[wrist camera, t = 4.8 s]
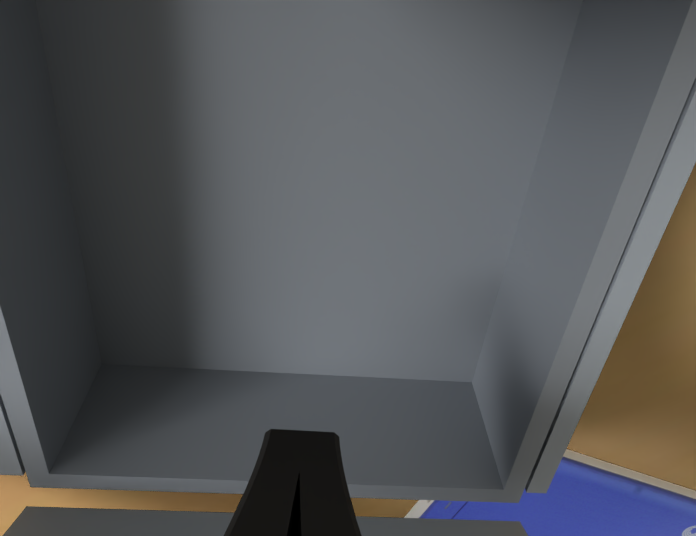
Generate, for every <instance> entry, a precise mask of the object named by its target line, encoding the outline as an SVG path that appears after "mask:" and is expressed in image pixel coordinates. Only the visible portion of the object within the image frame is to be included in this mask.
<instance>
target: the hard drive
mask: <svg viewBox="0 0 696 536" xmlns="http://www.w3.org/2000/svg"><path fill="white" fill-rule="evenodd" d="M404 518H424V519H458V520H491V521H520V522H521V524H522V526H523V528H524V529H525V531H526V533H527V535H528V536H696V491H695V490H692V489H689V488H686V487H683V486H680V485H676V484H673V483H670V482H667V481H664V480H661V479H658V478H655V477H652V476H649V475H646V474H643V473H640V472H636V471H633V470H630V469H627V468H624V467H621V466H618V465H615V464H612V463H608V462H605V461H602V460H599V459H596V458H593V457H590V456H587V455H584V454H581V453H577V452H574V451H571V450H568V449H566V451H565V453H564V455H563V457H562V459H561V462H560V464H559V466H558V468H557V470H556V473H555V475H554V477H553V479H552V482H551V484H550V486H549V488H548V490H547V493H526V490H525V489H524V491H523V494H522V496H521V499H520V501H519V503H501V502H471V501H440V500H419V501H418V502H417V503H416V504H415V505H414V506H413V508H412V509H411V510H410V511H409V512H408V513H407V515H406V516H405V517H404Z"/></svg>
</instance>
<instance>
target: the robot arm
mask: <svg viewBox="0 0 696 536" xmlns="http://www.w3.org/2000/svg"><path fill="white" fill-rule="evenodd" d="M224 536H362V535H361V532H360V529H359V526H358V523H357V520H356V516H355V513H354V509H353V506H352V502H351V498H350V494H349V490H348V486H347V482H346V478H345V473H344V468H343V463H342V457H341V450H340V439H339V436H338V435H337V434H336V433H334V432H321V431H302V430H284V429H270V430H268V431H267V432H265V435H264V439H263V443H262V446H261V449H260V453H259V456H258V459H257V461H256V464H255V467H254V469H253V472H252V475H251V477H250V479H249V482H248V484H247V487H246V489H245V491H244V494H243V496H242V498H241V500H240V502H239V505H238V507H237V509H236V511H235V513H234V515H233V517H232V519H231V521H230V523H229V526H228V528H227V530H226V532H225V534H224Z"/></svg>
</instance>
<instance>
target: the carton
mask: <svg viewBox="0 0 696 536" xmlns="http://www.w3.org/2000/svg"><path fill="white" fill-rule="evenodd" d="M695 163H696V0H0V475H24V473H25V471H26V474H27V477H28V480H29V484H30V487H43V488H73V489H104V490H135V491H165V492H196V493H226V494H244V491H245V489H246V487H247V484H248V482H249V479H250V477H251V475H252V472H253V469H254V467H255V464H256V461H257V459H258V456H259V453H260V449H261V446H262V443H263V439H264V435H265V432H267V431H268V430H270V429H284V430H302V431H321V432H334V433H336V434H337V435H338V436H339V439H340V450H341V457H342V463H343V468H344V473H345V478H346V482H347V486H348V490H349V494H350V498H379V499H410V500H440V501H471V502H501V503H519V501H520V499H521V496H522V494H523V491H524V489H525V490H526V493H547V490H548V488H549V486H550V484H551V482H552V479H553V477H554V475H555V473H556V470H557V468H558V466H559V464H560V462H561V459H562V457H563V455H564V453H565V451H566V448H567V446H568V444H569V442H570V439H571V437H572V435H573V433H574V431H575V428H576V426H577V424H578V422H579V420H580V417H581V415H582V413H583V411H584V408H585V406H586V404H587V402H588V400H589V397H590V395H591V393H592V391H593V389H594V386H595V384H596V382H597V380H598V377H599V375H600V373H601V371H602V369H603V366H604V364H605V362H606V360H607V358H608V355H609V353H610V351H611V349H612V346H613V344H614V342H615V340H616V338H617V335H618V333H619V331H620V329H621V327H622V324H623V322H624V320H625V318H626V315H627V313H628V311H629V309H630V307H631V304H632V302H633V300H634V298H635V296H636V293H637V291H638V289H639V287H640V284H641V282H642V280H643V278H644V276H645V273H646V271H647V269H648V267H649V265H650V262H651V260H652V258H653V256H654V253H655V251H656V249H657V247H658V245H659V242H660V240H661V238H662V236H663V234H664V231H665V229H666V227H667V225H668V222H669V220H670V218H671V216H672V214H673V211H674V209H675V207H676V205H677V203H678V200H679V198H680V196H681V194H682V191H683V189H684V187H685V185H686V183H687V180H688V178H689V176H690V174H691V172H692V169H693V167H694V165H695Z"/></svg>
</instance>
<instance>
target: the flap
mask: <svg viewBox="0 0 696 536" xmlns="http://www.w3.org/2000/svg"><path fill="white" fill-rule="evenodd" d="M233 515H234V513H226V512H192V511H159V510H126V509H93V508H60V507H26V508H25V509H24V510H23V511H22V513H21V514H20V515H19V516H18V518H17V519H16V520H15V521H14V522H13V524H12V525H11V526H10V527H9V529H8V530H7V531H6V532H5V534H4V535H3V536H224V534H225V532H226V530H227V528H228V526H229V523H230V521H231V519H232V517H233ZM356 520H357V523H358V526H359V529H360V532H361V535H362V536H528V535H527V533H526V531H525V529H524V528H523V526H522V524H521V522H520V521H491V520H458V519H424V518H391V517H358V516H356Z"/></svg>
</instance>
